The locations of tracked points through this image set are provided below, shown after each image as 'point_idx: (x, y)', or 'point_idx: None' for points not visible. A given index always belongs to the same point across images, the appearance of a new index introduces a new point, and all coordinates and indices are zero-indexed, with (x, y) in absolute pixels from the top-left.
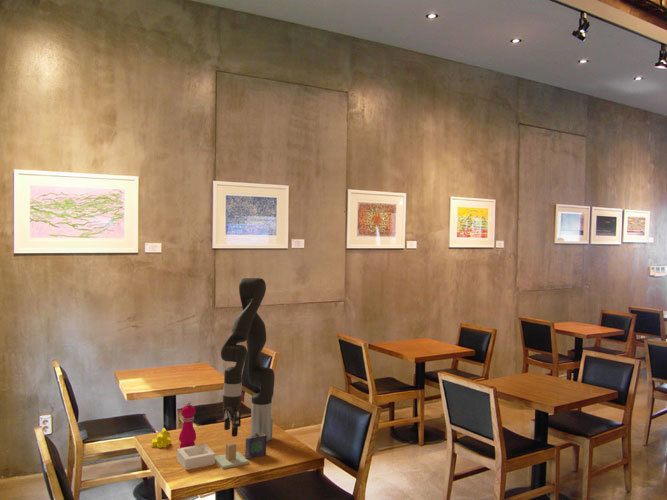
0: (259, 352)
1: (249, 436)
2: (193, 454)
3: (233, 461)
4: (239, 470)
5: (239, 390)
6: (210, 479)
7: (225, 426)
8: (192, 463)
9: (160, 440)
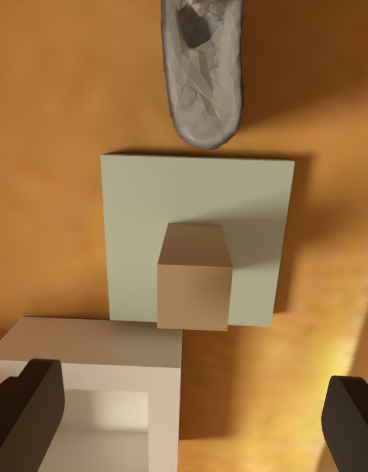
0: None
1: (175, 80)
2: None
3: (242, 250)
4: (328, 241)
5: None
6: (326, 390)
7: (43, 455)
8: (178, 444)
9: None
